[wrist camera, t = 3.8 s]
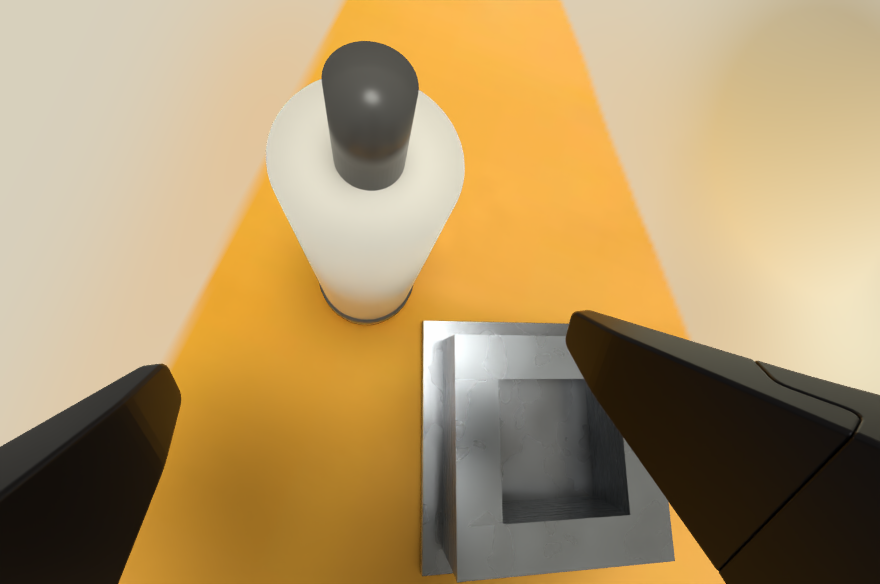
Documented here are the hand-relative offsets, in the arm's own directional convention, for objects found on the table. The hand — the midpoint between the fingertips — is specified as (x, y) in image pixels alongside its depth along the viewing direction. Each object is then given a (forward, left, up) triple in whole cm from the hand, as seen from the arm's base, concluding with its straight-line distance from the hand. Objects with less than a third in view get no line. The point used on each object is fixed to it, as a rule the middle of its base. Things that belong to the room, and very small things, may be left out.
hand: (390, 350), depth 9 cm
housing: (-4, -8, -12) cm, 15 cm away
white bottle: (+4, +1, -12) cm, 13 cm away
